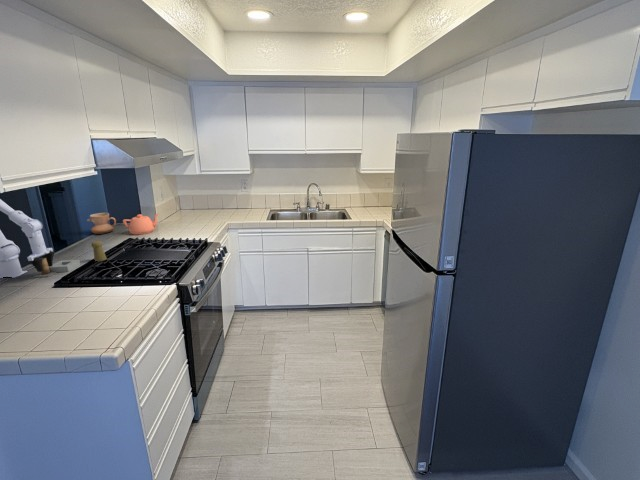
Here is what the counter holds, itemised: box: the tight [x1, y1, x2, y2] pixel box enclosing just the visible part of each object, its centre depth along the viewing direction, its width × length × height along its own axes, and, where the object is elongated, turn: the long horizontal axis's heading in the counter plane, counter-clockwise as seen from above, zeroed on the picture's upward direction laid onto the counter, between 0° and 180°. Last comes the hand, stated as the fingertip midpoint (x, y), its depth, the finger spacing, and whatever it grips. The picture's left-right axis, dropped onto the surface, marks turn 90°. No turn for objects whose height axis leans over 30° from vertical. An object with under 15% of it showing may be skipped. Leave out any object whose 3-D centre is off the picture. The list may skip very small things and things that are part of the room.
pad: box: [32, 272, 58, 279], centre depth 173 cm, size 8×8×1 cm
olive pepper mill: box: [91, 240, 108, 262], centre depth 191 cm, size 6×6×11 cm
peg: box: [39, 257, 50, 275], centre depth 172 cm, size 4×4×8 cm
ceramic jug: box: [86, 212, 117, 235], centre depth 249 cm, size 18×14×14 cm
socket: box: [49, 259, 81, 273], centre depth 180 cm, size 10×10×3 cm
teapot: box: [122, 213, 160, 236], centre depth 246 cm, size 25×17×13 cm
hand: (45, 269), depth 173 cm, fingers open, 6 cm apart
